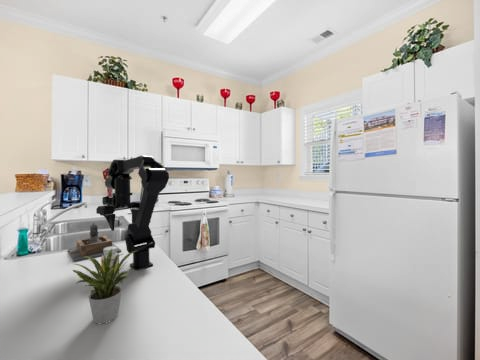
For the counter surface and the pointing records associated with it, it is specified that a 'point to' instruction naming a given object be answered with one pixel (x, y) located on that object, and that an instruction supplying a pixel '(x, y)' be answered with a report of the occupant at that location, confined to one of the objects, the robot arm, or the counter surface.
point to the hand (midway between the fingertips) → (123, 228)
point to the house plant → (104, 288)
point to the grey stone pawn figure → (94, 234)
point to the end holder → (90, 248)
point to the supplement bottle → (114, 253)
